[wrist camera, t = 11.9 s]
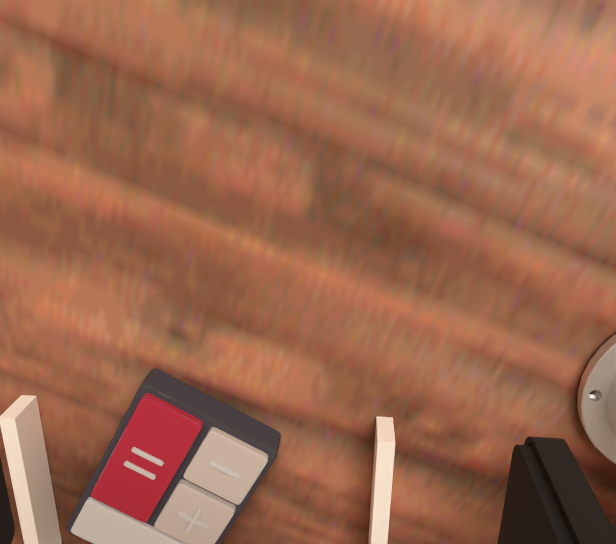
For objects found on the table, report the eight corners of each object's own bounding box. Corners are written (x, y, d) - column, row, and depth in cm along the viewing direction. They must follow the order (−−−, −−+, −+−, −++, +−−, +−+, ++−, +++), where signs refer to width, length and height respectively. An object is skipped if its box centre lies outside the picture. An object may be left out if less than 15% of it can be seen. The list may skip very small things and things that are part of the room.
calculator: (278, 459, 41) (187, 599, 45) (284, 425, 45) (200, 556, 49) (138, 387, 40) (58, 538, 44) (157, 359, 44) (82, 499, 48)
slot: (392, 417, 42) (395, 442, 40) (380, 583, 48) (381, 615, 45) (21, 395, 45) (-2, 417, 42) (51, 556, 50) (32, 585, 47)
